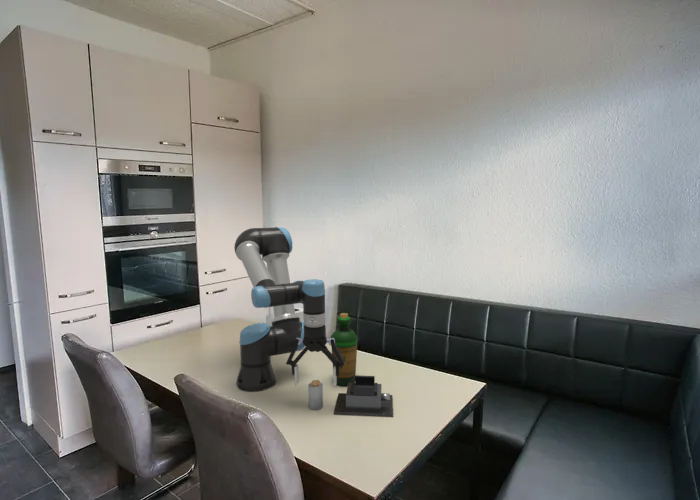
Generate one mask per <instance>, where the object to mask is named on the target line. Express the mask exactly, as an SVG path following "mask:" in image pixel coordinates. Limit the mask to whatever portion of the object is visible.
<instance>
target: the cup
mask: <svg viewBox="0 0 700 500" xmlns="http://www.w3.org/2000/svg"><path fill="white" fill-rule="evenodd" d="M294 310H295V314H296V315H297V316H298V317H299V318H300V322H304V317H303V307H294Z"/></svg>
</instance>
